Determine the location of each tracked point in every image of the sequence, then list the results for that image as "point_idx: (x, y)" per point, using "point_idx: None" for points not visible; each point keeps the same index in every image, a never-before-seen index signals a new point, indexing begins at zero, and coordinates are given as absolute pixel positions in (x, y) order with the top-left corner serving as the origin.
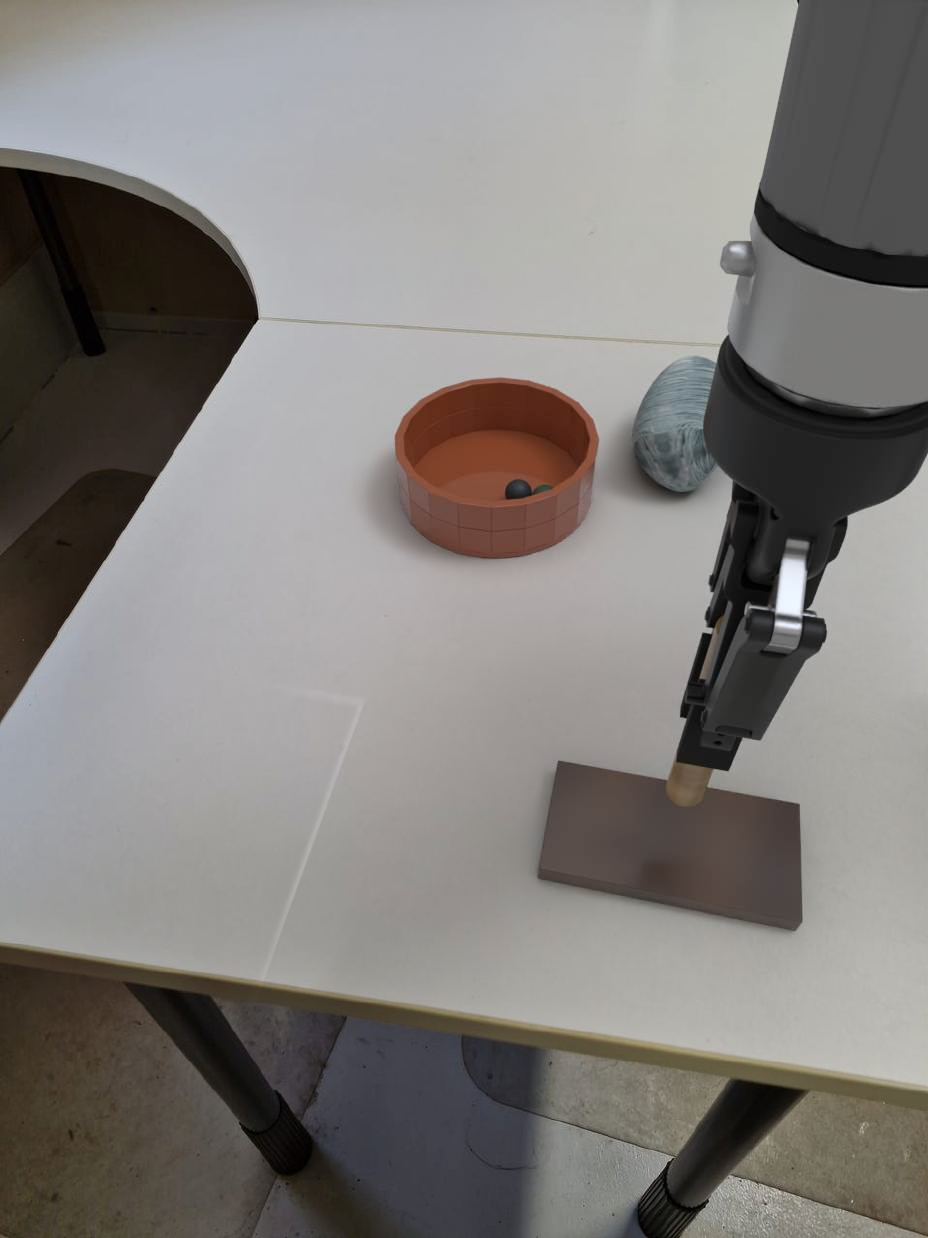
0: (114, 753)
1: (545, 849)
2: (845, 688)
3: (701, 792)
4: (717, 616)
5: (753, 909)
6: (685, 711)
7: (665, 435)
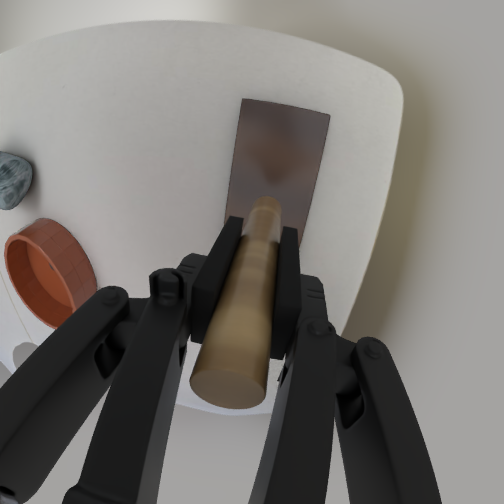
0: None
1: None
2: (145, 60)
3: (278, 209)
4: (182, 364)
5: (322, 144)
6: None
7: (4, 199)
